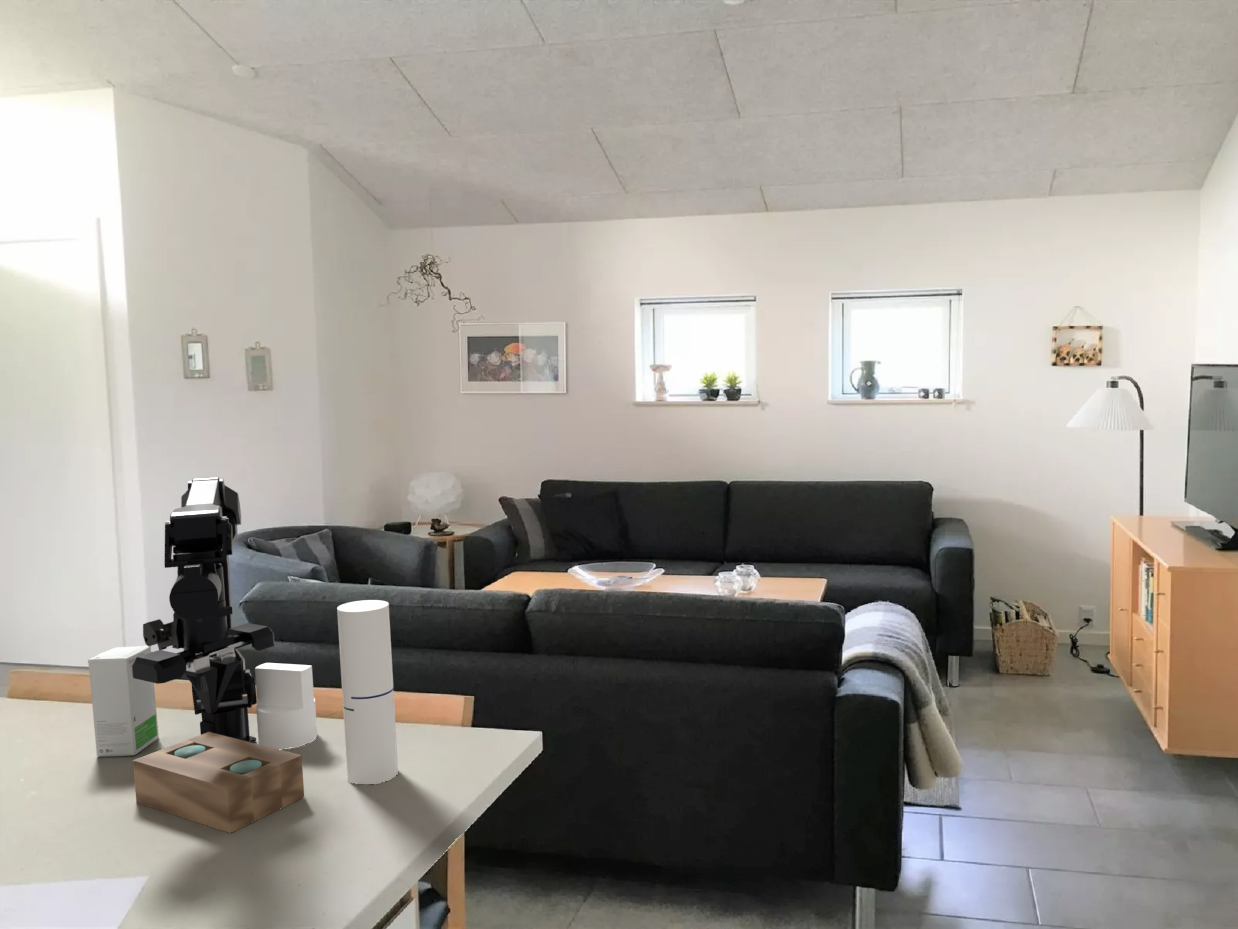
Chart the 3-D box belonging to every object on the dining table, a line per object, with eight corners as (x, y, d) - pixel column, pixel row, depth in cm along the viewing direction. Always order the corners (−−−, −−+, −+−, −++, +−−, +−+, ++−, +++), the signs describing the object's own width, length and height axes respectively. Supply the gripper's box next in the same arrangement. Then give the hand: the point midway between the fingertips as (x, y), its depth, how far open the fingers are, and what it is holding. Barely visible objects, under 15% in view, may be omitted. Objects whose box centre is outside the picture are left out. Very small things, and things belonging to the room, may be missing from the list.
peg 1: (196, 781, 143) (193, 743, 142) (214, 787, 141) (211, 748, 140) (171, 792, 139) (168, 753, 139) (189, 797, 137) (186, 758, 137)
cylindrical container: (385, 786, 139) (375, 612, 137) (338, 783, 141) (327, 611, 139) (406, 766, 146) (396, 600, 144) (361, 764, 148) (351, 599, 146)
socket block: (211, 770, 147) (208, 731, 147) (304, 797, 137) (301, 755, 136) (136, 802, 137) (132, 760, 136) (230, 833, 127) (226, 787, 126)
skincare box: (134, 757, 154) (126, 659, 152) (92, 758, 154) (84, 660, 153) (160, 737, 162) (153, 644, 161) (120, 738, 162) (113, 645, 161)
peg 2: (251, 798, 136) (248, 758, 136) (270, 803, 134) (268, 763, 134) (226, 809, 133) (223, 768, 133) (246, 815, 131) (243, 773, 130)
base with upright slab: (328, 731, 162) (324, 660, 161) (295, 752, 154) (290, 676, 152) (281, 727, 165) (276, 657, 164) (246, 748, 156) (241, 673, 155)
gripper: (221, 581, 147) (228, 683, 148) (101, 611, 131) (111, 725, 132) (273, 588, 141) (280, 694, 143) (155, 621, 125) (164, 739, 127)
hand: (211, 712), depth 136 cm, fingers closed
